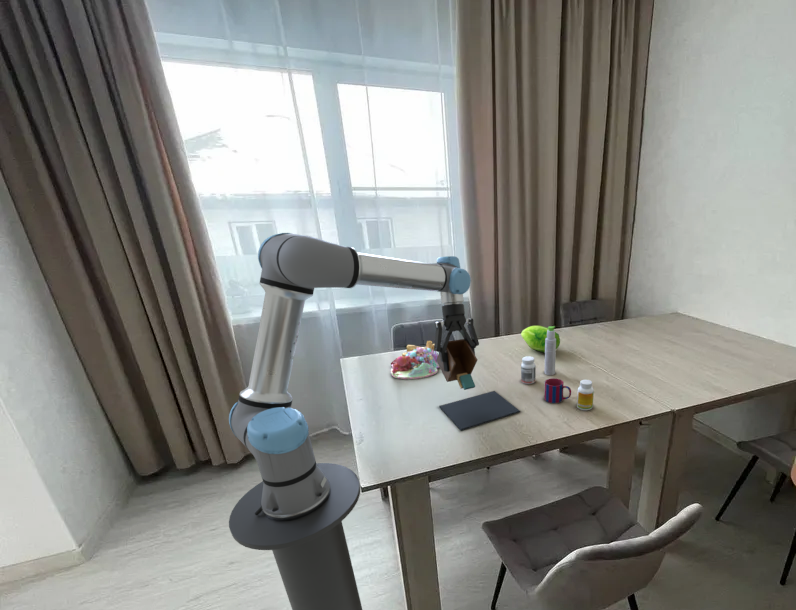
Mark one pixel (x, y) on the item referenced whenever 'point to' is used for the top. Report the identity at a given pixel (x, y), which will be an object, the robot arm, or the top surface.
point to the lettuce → (537, 337)
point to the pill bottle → (528, 370)
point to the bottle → (550, 351)
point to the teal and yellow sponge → (467, 381)
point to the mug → (555, 390)
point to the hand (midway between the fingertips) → (459, 368)
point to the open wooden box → (458, 359)
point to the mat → (478, 410)
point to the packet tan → (459, 379)
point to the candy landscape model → (416, 362)
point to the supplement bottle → (585, 395)
